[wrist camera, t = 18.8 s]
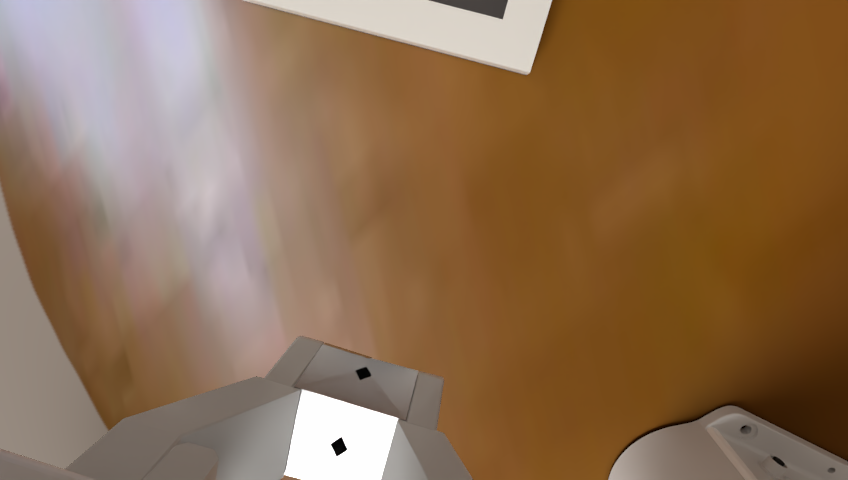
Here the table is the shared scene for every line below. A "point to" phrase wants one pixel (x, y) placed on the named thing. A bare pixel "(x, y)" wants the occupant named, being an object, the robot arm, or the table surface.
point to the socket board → (440, 25)
